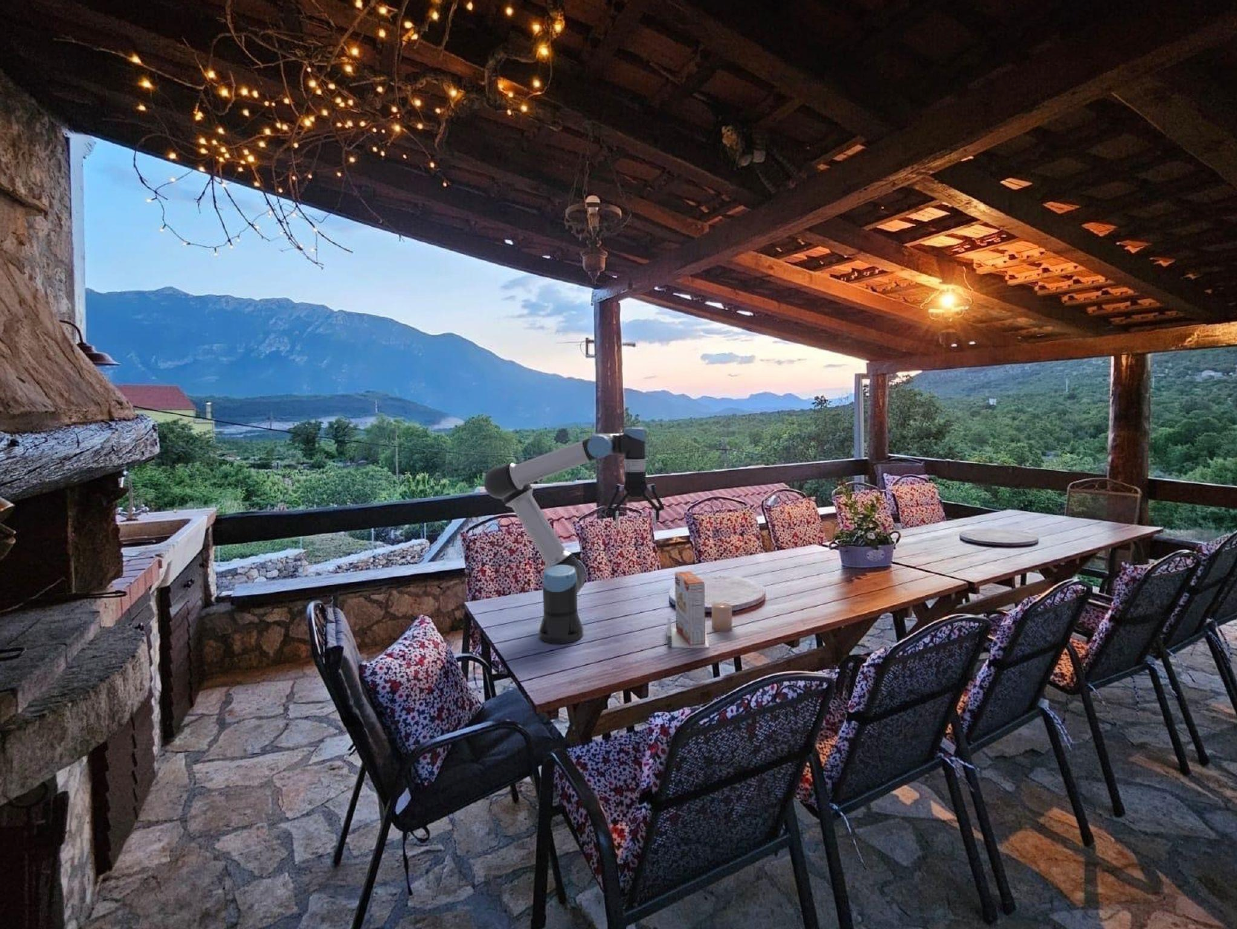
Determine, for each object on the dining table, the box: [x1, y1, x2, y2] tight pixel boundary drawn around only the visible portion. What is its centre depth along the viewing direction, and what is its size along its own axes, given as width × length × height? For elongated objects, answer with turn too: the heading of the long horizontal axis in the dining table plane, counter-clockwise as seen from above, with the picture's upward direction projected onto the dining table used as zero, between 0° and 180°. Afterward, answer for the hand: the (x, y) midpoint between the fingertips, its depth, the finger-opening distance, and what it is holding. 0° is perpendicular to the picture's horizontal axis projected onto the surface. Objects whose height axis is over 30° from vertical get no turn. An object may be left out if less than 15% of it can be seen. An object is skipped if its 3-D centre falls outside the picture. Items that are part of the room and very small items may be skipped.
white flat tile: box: [666, 617, 710, 649], centre depth 186 cm, size 13×16×4 cm
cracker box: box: [674, 570, 706, 645], centre depth 186 cm, size 14×6×21 cm, turn 12°
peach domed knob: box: [711, 602, 733, 633], centre depth 195 cm, size 7×7×8 cm
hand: (636, 529), depth 198 cm, fingers open, 13 cm apart
